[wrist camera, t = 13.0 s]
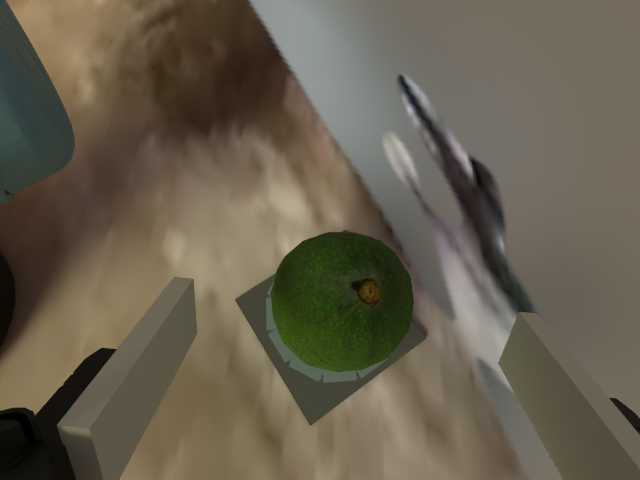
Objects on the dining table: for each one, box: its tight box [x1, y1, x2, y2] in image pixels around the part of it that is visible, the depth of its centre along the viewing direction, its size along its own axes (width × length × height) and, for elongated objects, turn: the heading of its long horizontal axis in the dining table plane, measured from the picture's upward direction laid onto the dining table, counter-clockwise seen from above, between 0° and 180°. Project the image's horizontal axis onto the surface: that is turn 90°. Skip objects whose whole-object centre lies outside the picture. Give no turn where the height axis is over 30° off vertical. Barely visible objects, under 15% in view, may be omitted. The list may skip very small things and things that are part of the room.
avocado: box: [271, 232, 414, 372], centre depth 19 cm, size 8×8×12 cm
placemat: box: [235, 230, 426, 426], centre depth 29 cm, size 11×11×1 cm
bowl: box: [266, 282, 388, 383], centre depth 26 cm, size 9×9×5 cm
